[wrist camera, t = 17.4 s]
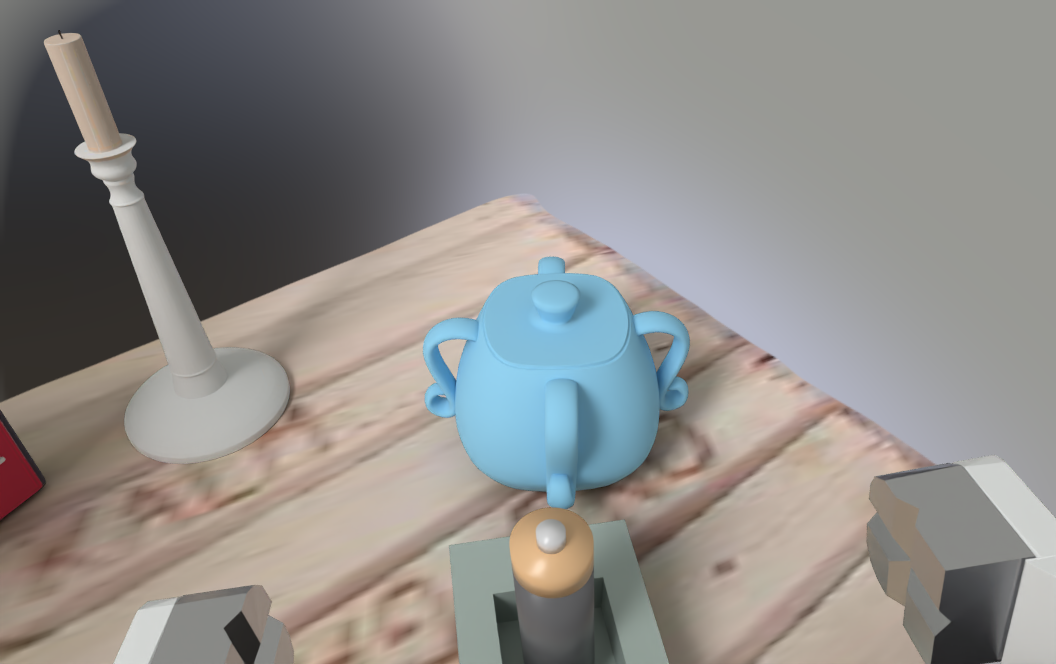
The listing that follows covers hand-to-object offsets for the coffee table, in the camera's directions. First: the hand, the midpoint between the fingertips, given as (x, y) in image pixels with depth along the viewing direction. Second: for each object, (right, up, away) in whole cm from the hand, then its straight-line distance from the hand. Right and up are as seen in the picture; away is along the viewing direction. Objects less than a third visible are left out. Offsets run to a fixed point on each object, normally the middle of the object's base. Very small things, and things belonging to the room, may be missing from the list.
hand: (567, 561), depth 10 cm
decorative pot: (+2, -5, +49) cm, 50 cm away
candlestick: (-27, -3, +53) cm, 59 cm away
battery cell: (+1, -16, +34) cm, 37 cm away
